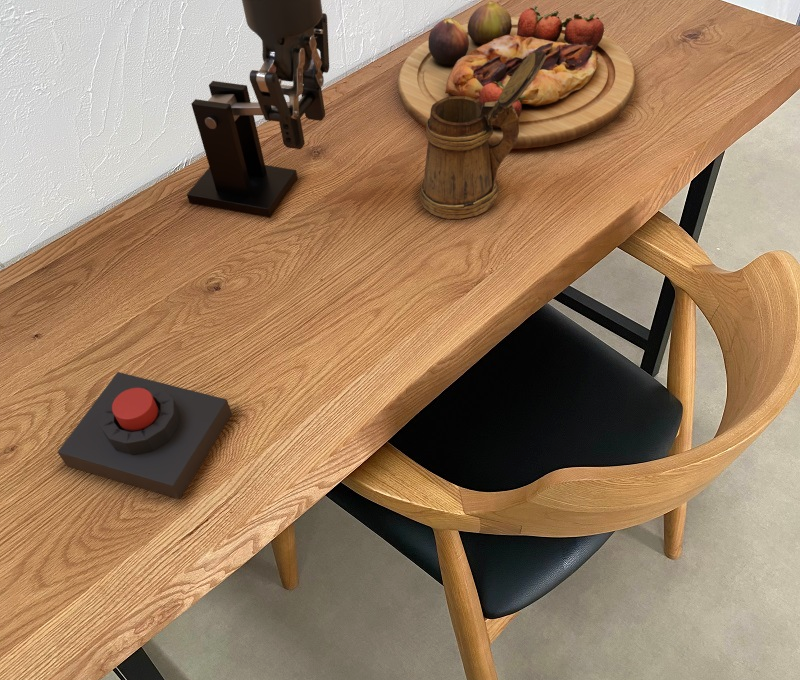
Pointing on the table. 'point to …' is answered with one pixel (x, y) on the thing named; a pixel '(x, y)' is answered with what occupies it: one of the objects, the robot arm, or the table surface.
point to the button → (135, 409)
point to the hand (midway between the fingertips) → (305, 131)
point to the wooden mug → (471, 147)
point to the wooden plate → (501, 56)
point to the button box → (148, 437)
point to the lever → (257, 104)
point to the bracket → (236, 159)
